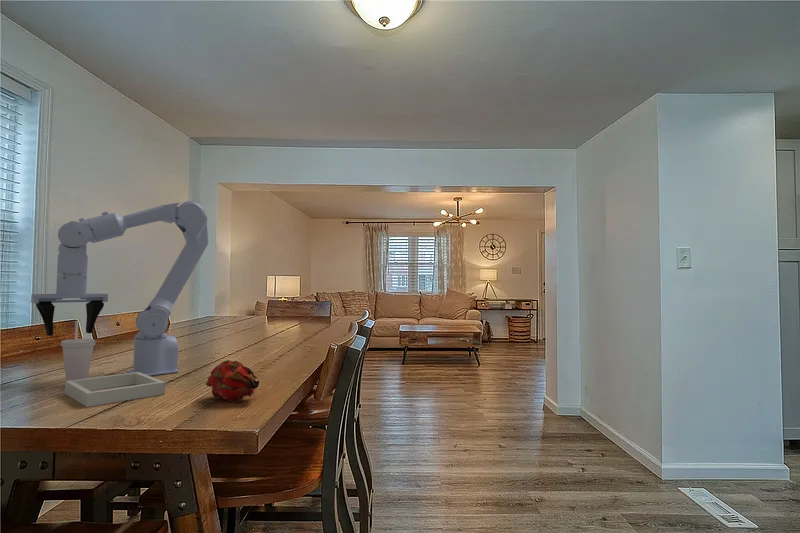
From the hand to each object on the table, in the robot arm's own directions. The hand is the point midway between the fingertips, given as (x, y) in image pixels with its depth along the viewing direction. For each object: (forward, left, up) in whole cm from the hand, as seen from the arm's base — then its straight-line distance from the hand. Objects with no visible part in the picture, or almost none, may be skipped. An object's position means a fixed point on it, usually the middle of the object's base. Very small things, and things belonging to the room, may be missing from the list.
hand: (69, 334), depth 109 cm
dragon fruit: (-18, +41, -11) cm, 46 cm away
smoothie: (0, +7, -11) cm, 12 cm away
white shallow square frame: (-3, +21, -10) cm, 23 cm away
